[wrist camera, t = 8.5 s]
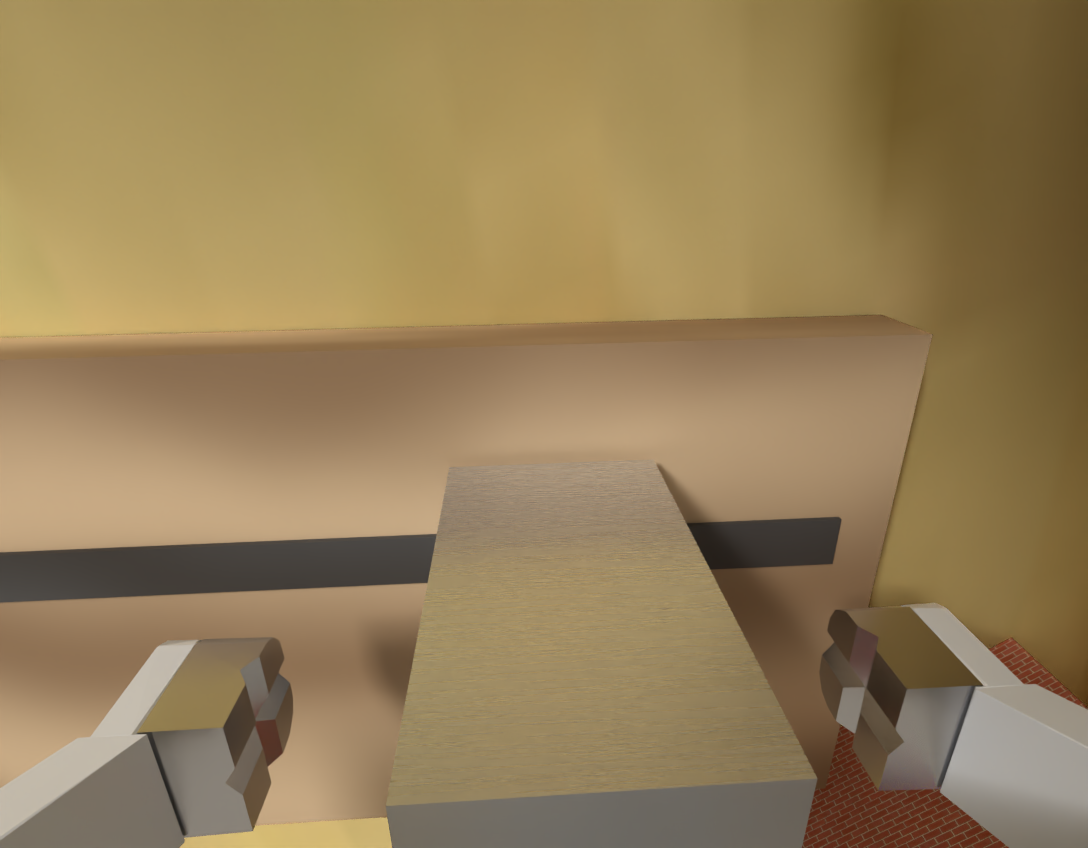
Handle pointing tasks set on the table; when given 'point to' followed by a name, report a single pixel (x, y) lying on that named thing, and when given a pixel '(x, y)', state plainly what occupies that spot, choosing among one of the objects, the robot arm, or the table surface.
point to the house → (905, 792)
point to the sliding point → (585, 678)
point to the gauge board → (412, 502)
